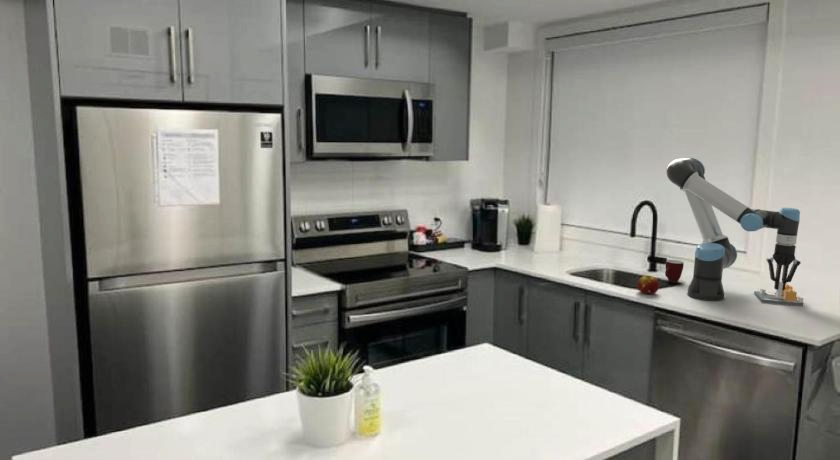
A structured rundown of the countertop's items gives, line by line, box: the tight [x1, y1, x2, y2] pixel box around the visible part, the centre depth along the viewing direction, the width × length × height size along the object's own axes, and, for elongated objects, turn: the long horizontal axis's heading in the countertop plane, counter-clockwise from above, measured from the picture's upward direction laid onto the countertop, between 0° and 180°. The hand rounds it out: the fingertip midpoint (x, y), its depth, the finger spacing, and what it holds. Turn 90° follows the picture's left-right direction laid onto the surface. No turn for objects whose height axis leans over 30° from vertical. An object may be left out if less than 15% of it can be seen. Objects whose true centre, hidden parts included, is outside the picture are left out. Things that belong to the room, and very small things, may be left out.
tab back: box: [782, 283, 794, 295], centre depth 270 cm, size 4×3×5 cm
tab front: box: [783, 289, 798, 301], centre depth 262 cm, size 4×3×5 cm
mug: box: [664, 259, 685, 283], centre depth 296 cm, size 10×8×10 cm
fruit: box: [636, 274, 660, 295], centre depth 275 cm, size 10×9×8 cm
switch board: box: [753, 287, 805, 307], centre depth 268 cm, size 16×14×4 cm
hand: (778, 296), depth 264 cm, fingers closed
